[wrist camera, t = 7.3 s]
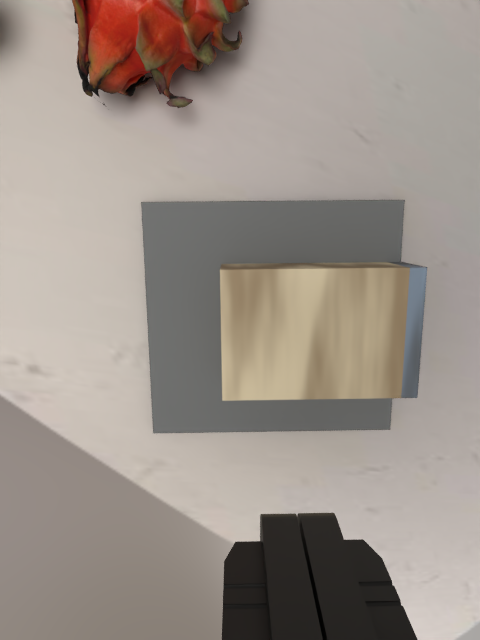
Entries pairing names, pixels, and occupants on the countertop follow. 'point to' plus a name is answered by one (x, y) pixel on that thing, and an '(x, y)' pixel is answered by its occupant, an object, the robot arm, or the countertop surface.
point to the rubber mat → (205, 307)
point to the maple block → (321, 330)
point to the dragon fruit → (148, 41)
